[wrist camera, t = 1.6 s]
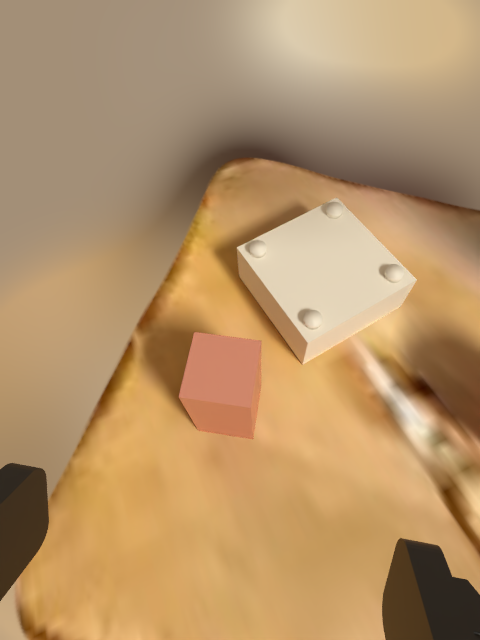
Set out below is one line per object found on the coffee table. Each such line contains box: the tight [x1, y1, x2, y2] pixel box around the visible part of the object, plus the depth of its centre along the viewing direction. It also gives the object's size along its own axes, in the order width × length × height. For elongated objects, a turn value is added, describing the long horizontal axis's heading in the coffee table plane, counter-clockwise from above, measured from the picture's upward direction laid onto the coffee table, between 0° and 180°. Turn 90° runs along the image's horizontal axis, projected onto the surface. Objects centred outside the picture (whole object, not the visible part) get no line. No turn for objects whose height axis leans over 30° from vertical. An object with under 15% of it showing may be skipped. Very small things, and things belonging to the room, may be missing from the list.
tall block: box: [179, 332, 261, 439], centre depth 33 cm, size 5×5×10 cm
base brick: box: [237, 198, 417, 365], centre depth 41 cm, size 12×12×6 cm
